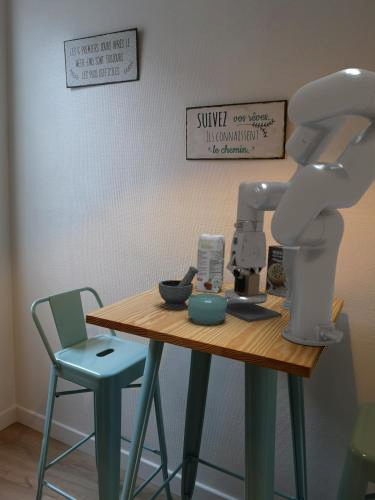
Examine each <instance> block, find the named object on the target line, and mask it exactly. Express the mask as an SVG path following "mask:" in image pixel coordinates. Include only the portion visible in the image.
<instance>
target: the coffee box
mask: <svg viewBox="0 0 375 500" xmlns="http://www.w3.org/2000/svg"><path fill="white" fill-rule="evenodd" d="M282 247H284V246H283V245H280V244H279V245H268V249H267V250H268V252H267V261H266V267H267V268H266V275H265V276H266V279H265V292H266V293H265V292H264V293H265V294H269V293H270V294H269V295H273V296H276V295H277V297H281V298H285V299H288V296H289V293H288V291H289V286H288V285H289V283H290V279H289V278H287V276H286V274H285V271H284V268H283V264H282V263H283V249H282Z"/></svg>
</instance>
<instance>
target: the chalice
mask: <svg viewBox="0 0 375 500" xmlns="http://www.w3.org/2000/svg"><path fill="white" fill-rule="evenodd" d="M299 248H300V247H287V246H284V247H282V249H283V263H282V264H283V268H284V271H285V274H286V276H287V278H289V279H290V283H289V285H288V286H289V291H288V293H289V296H288V298H285V299H284V300H283V302H282V304H281V306H280V308H281V309H283V310H284V309H285V310H288V311H290V304H291V291H292V278H293V266H294V260H295V257H296V254H297V252H298V250H299Z"/></svg>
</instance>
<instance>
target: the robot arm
mask: <svg viewBox="0 0 375 500" xmlns="http://www.w3.org/2000/svg"><path fill="white" fill-rule="evenodd" d="M287 117H288V120H289V122H291V123H292V124H293V125H295V126H297V127H296V128H295V129H294V131H293V132H292V134H291V135H290V137H289V138H288V140H287V141H286V143H285V151H286V153H287V155H288V156H289V157H290V159H292V161H294V162H295V163H296V164H297V167H296V169H295V172H294V173H293V174H292V176H291V177H290V178H289V179H288V181H287V182H283V181H282V182H281V181H243V182H240V184H238V185H239V186H238V194H237V208H236V222H234V223H233V227H234V228H235V231H234V232H233V235H232V239H231V243H230V244H231V245H230V251H229V253H230V254H229V261H228V263H227V265H226V266H225V267H226V269H227V271H229V272H230V273H231V274H232V276H233V277H234V282H235V286H234V285H233V286H234V287H233V289H234V290H235V291H237V292H240V293H243V287H244V279H243V274H244V269H247V268H249V272H252V273H255V274H259V275H260V273H261V272H262V270H263V269H264V268H265V267H267V238H266V233H265V231H264V224H265V221H264V220H265V212H274V213H273V215H272V217H271V220H270V221H271V222H270V233H271V237H272V239H273V240H274V241H275V242H276V243H277V244H279V245H280V246H287V247H300V248H299V250H298V252H297V254H296V257H295V260H294V266H293V278H292V291H291V304H290V310H289V320H288V325H286V326H284V327H283V328H281V335H282V337H283V338H284V339H285V340H288V341H290V342H293V343H295V344H299V345H303V346H309V347H310V346H312V347H325V346H331V345H333V344H336V343H338V344H339V343H340V342H341V341H342V338H343V337H344V333H343V332H342V331H340V330H336V328H335V327H336V322H334V321H332V316H333V314H332V313H333V305H334V304H333V303H334V292H335V283H336V273H337V272H336V271H337V262H338V256H339V250H340V246H341V243H342V240H343V236H344V231H345V220H344V217H343V215H342V212H340V211H339V210H338V209H350V208H352V207H353V206H354V207H355V206H356V204H358V203H359V202H360V200H362V198H363V197H364V195H365V194H366V193H367V191H368V189H369V188H370V187H371V185H372V184H373V183H374V181H375V72H374V71H371V70H367V69H363V68H356V67H351V68H345V69H342V70H339V71H336V72H334V73H332V74H328V75H327V76H323V77H322V78H318V79H316V80H314V81H311V82H309V83H306V84H305V85H303V86H302V87H300V88H298V89H297V90H296V92H294V94H292V96H291V98H290V100H289V102H288V104H287ZM350 118H357V119H361V120H368V121H369V122H368V124H367V125H366V126H364V127H363V128H362V129H361V130H359V131H358V132H357V133H356V134H355V135H354V136H353V137H352V138H351V139H350V141H348V142H347V145H346V146H345V147H344V150H343V151H342V153H340V155H339V156H338V158H337V159H336V160H334V161H333V162H330V161H329V162H328V161H326V162H325V161H319V159H320V158H321V157H322V156H323V154H324V153H325V151H326V150H327V149H328V147H330V145H331V143H332V142H333V141H334V140H335V138H337V137H336V136H337V135H338V134H339V133H340V131H341V130H342V128H344V126H345V125H346V124H347V122H348V120H349V119H350ZM253 268H254V269H253ZM238 271H239V272H238Z"/></svg>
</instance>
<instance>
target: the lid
mask: <svg viewBox="0 0 375 500" xmlns="http://www.w3.org/2000/svg"><path fill="white" fill-rule="evenodd" d="M239 271H240V270H239ZM239 271H238V272H239ZM243 279H244V287H243V293H240V292H237V291H235V290H234V288H229V289H227V290H226V291H224V297H225V298H226V299H227V301H233V302H237V303H243V304H256V305H260V304H264V303H266V302H267V301H268V293H265V292H263V291H260V282H261V281H260V280H261V274H260V273H259V274H255V273H252V272H249V271H244V274H243ZM233 284H234V285H233V286H235V281H234V282H233Z"/></svg>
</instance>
